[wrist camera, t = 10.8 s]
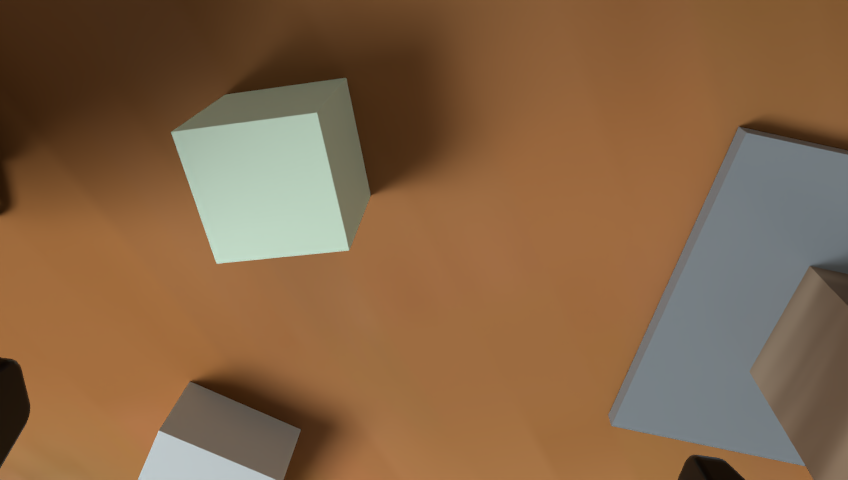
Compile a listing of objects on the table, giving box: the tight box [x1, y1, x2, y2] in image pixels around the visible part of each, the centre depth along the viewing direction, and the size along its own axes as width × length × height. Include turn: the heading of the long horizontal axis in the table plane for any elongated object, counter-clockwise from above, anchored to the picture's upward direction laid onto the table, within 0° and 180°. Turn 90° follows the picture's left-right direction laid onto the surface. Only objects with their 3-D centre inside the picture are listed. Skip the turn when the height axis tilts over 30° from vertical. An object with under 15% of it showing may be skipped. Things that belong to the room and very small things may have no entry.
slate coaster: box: [609, 127, 848, 466], centre depth 22 cm, size 12×12×1 cm
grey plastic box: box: [138, 382, 301, 480], centre depth 26 cm, size 5×5×3 cm
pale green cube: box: [171, 78, 371, 264], centre depth 19 cm, size 4×4×4 cm
